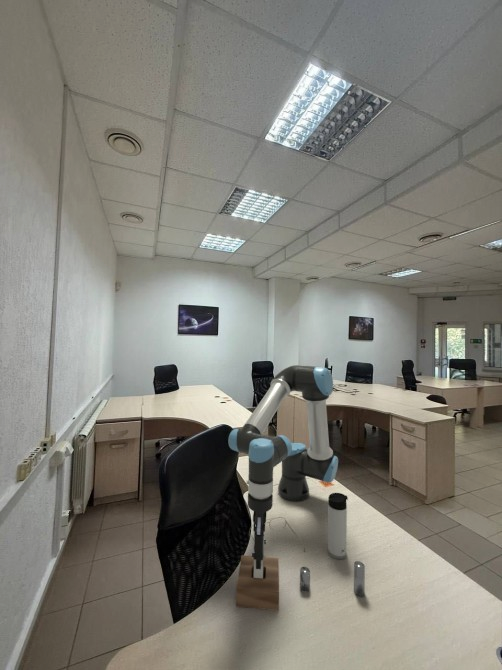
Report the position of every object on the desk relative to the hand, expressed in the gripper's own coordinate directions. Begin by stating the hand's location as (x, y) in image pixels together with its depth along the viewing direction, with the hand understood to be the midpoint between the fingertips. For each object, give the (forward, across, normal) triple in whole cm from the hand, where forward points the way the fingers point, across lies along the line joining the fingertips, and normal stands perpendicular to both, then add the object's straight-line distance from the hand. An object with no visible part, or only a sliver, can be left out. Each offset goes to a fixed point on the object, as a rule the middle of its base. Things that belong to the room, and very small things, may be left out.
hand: (258, 571), depth 83 cm
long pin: (+2, 0, 0) cm, 2 cm away
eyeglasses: (+6, -19, +5) cm, 21 cm away
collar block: (+5, 0, 0) cm, 5 cm away
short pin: (+5, -2, +14) cm, 15 cm away
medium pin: (+5, -2, +30) cm, 31 cm away
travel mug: (+5, -17, +27) cm, 32 cm away
